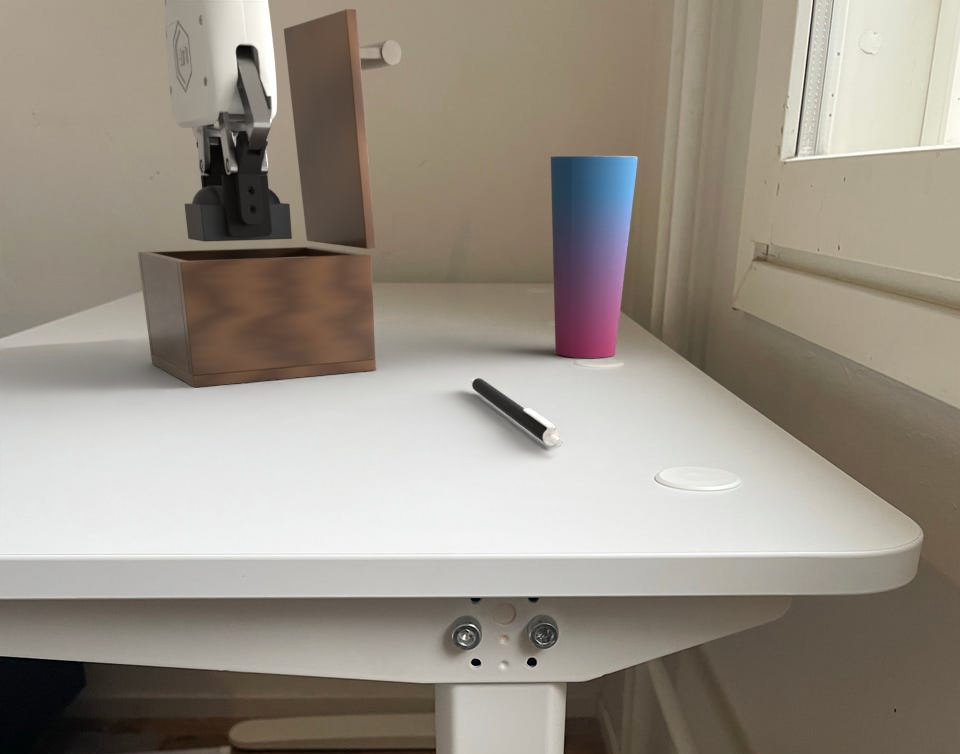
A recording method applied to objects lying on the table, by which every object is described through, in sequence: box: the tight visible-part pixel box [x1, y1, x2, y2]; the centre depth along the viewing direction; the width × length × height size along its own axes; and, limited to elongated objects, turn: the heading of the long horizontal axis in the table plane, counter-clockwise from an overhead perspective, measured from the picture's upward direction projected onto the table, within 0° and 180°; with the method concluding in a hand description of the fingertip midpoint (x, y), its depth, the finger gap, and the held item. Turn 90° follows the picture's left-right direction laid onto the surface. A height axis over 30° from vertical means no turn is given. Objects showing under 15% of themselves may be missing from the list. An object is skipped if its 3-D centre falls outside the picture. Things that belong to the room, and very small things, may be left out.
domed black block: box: [184, 186, 293, 243], centre depth 74 cm, size 7×4×4 cm, turn 121°
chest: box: [137, 246, 377, 388], centre depth 78 cm, size 14×12×8 cm
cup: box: [550, 155, 639, 359], centre depth 83 cm, size 7×7×15 cm
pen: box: [470, 377, 563, 448], centre depth 63 cm, size 1×19×1 cm, turn 14°
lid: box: [283, 8, 403, 250], centre depth 77 cm, size 15×12×5 cm
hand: (238, 231), depth 75 cm, fingers closed on domed black block, 4 cm apart
